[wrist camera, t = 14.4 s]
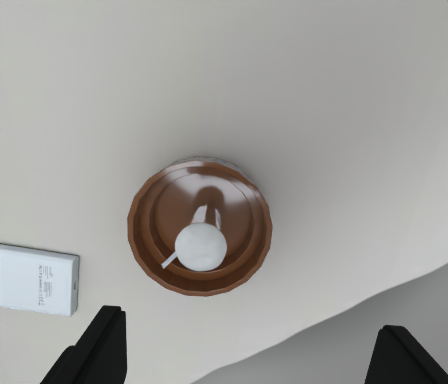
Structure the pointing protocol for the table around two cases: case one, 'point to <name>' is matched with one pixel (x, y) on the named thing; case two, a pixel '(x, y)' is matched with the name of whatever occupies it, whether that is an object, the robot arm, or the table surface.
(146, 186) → the bowl
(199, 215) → the milkshake
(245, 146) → the table surface
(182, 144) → the table surface
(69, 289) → the hard drive
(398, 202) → the table surface
